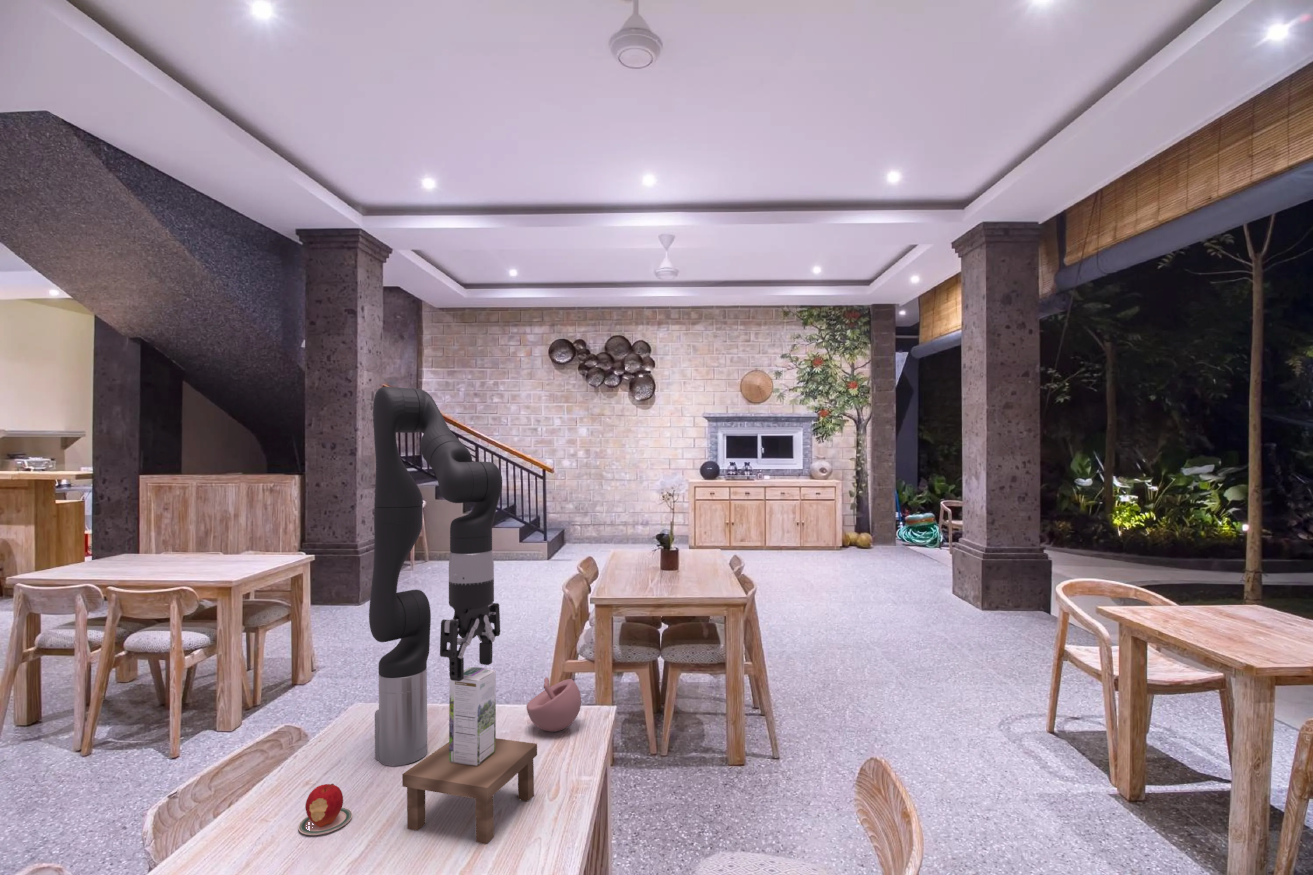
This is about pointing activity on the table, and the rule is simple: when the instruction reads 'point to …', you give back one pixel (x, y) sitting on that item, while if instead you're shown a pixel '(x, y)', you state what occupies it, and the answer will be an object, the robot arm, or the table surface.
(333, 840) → the table surface
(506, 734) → the table surface
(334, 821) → the apple
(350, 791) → the table surface
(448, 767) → the walnut stool
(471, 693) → the syrup box
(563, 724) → the mortar and pestle
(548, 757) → the table surface
